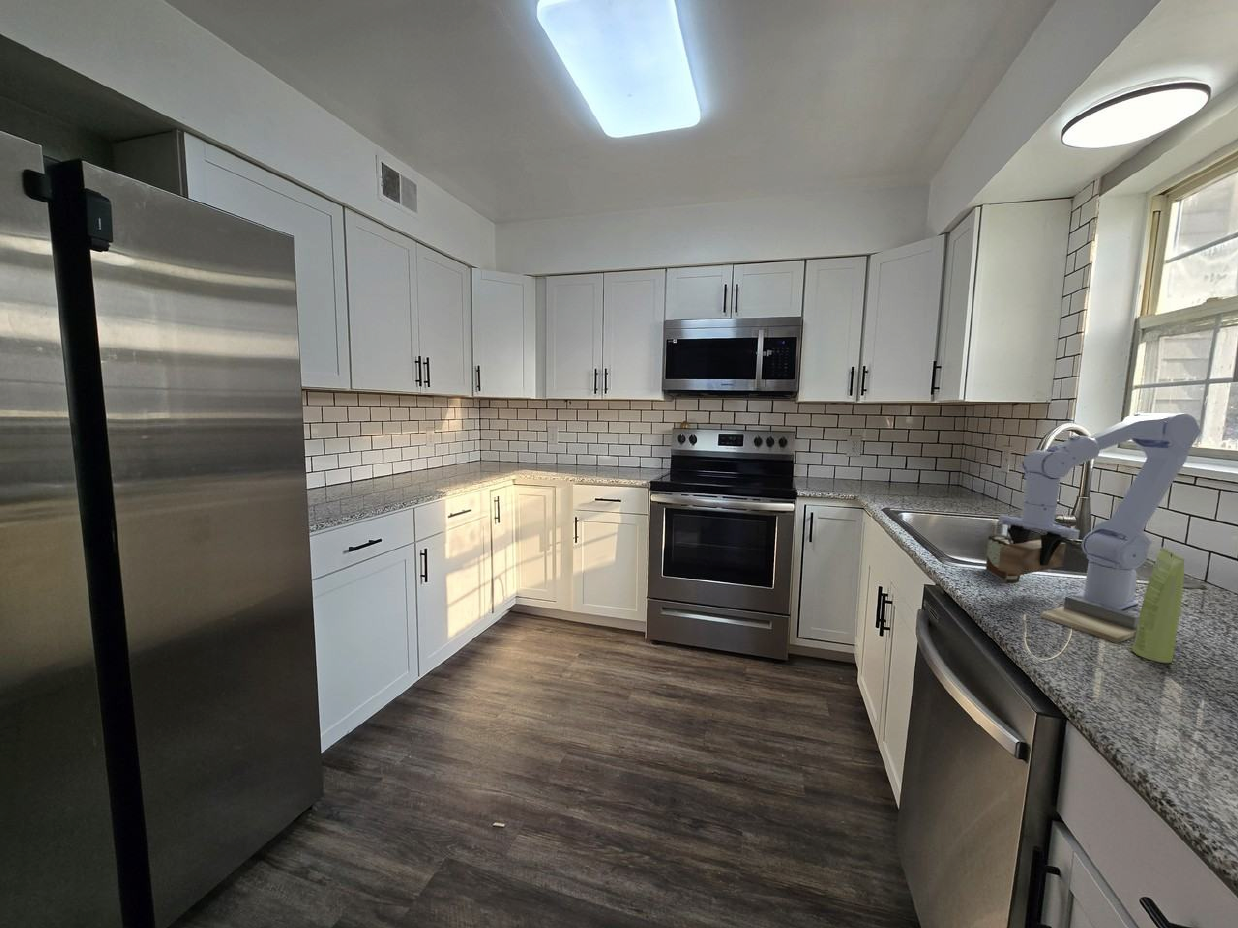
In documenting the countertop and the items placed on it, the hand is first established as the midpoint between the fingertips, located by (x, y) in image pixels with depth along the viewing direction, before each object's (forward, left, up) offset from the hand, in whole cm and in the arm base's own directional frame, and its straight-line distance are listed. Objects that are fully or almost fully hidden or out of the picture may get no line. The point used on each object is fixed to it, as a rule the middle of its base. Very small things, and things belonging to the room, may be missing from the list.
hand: (1031, 561), depth 111 cm
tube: (+10, +24, -9) cm, 27 cm away
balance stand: (0, +13, -9) cm, 16 cm away
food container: (-13, -10, -9) cm, 19 cm away
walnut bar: (0, 0, -2) cm, 2 cm away
